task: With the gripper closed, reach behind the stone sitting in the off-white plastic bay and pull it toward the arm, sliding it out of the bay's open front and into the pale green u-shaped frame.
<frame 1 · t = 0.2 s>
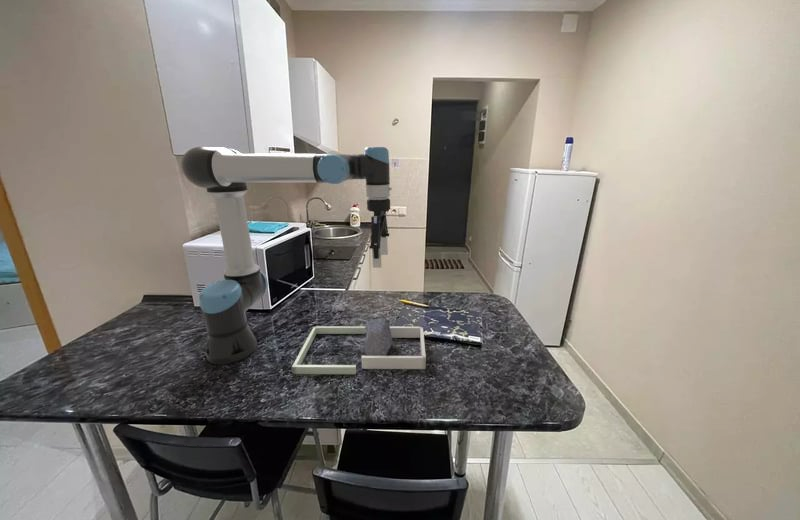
hand: (380, 260, 105), 28 cm above the table, fingers open, 13 cm apart
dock: (394, 351, 102), on the table
pale green u-shaped frame: (332, 350, 102), on the table
stone: (377, 351, 102), on the table
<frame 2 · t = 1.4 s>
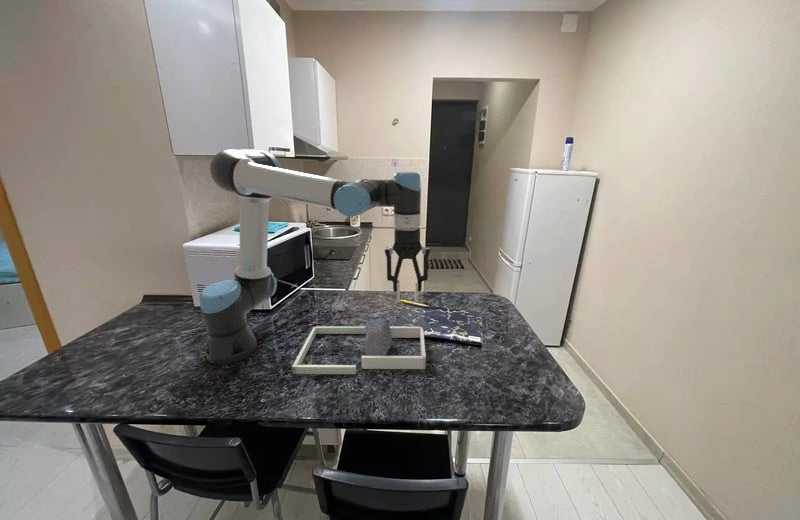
hand: (407, 300, 95), 19 cm above the table, fingers open, 5 cm apart
nothing on the table moved.
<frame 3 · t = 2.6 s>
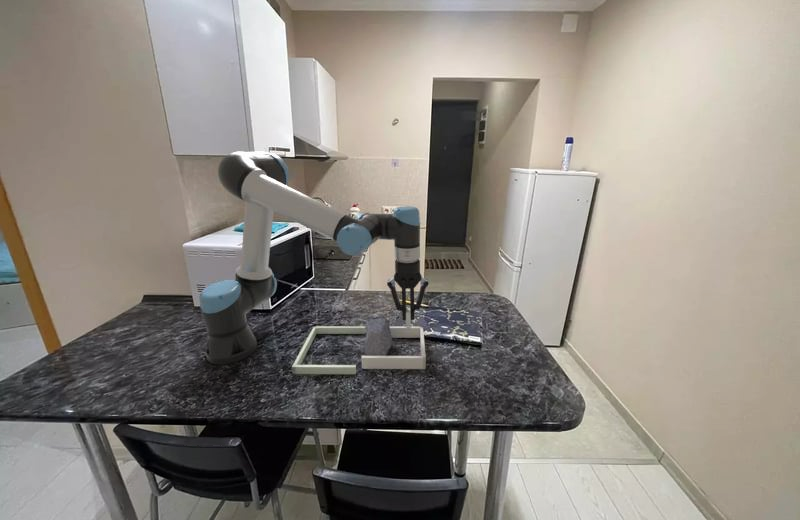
hand: (408, 328, 99), 9 cm above the table, fingers closed
nothing on the table moved.
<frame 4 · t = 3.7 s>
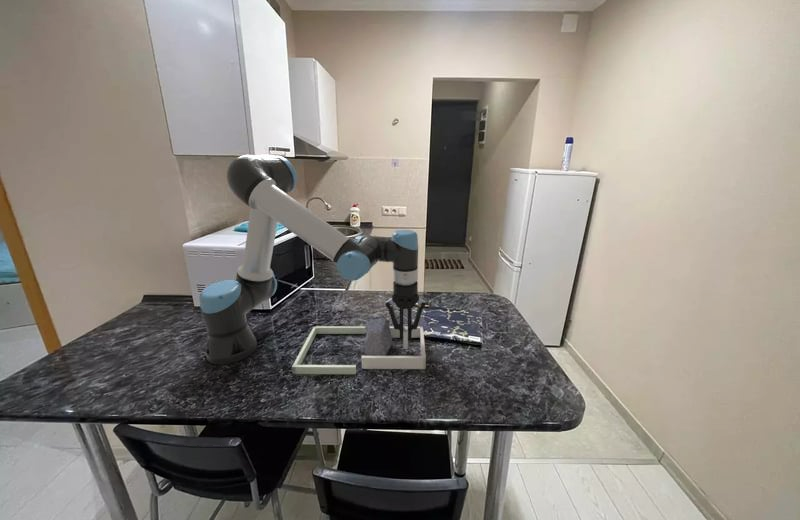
hand: (405, 346, 101), 2 cm above the table, fingers closed
nothing on the table moved.
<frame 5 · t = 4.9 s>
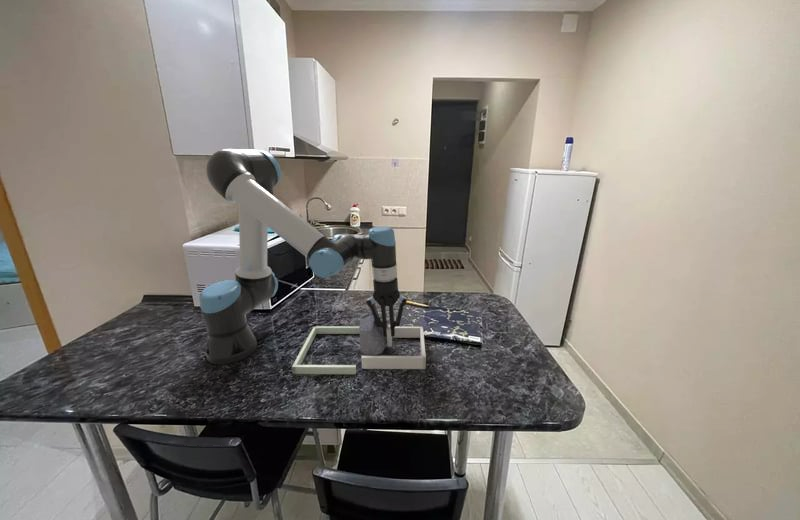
hand: (389, 344, 100), 3 cm above the table, fingers closed
stone: (375, 348, 101), point 1 cm above the table, touching gripper, hand
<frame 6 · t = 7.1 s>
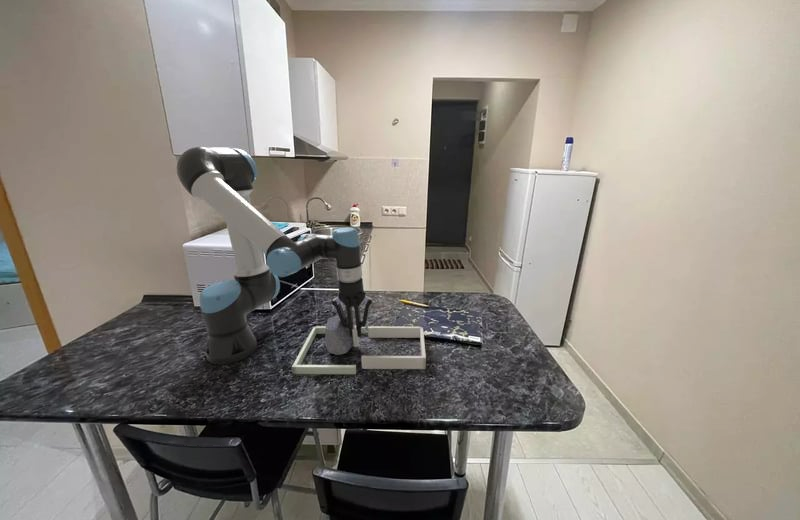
hand: (356, 344, 101), 3 cm above the table, fingers closed
stone: (342, 348, 102), point 1 cm above the table, touching gripper, hand
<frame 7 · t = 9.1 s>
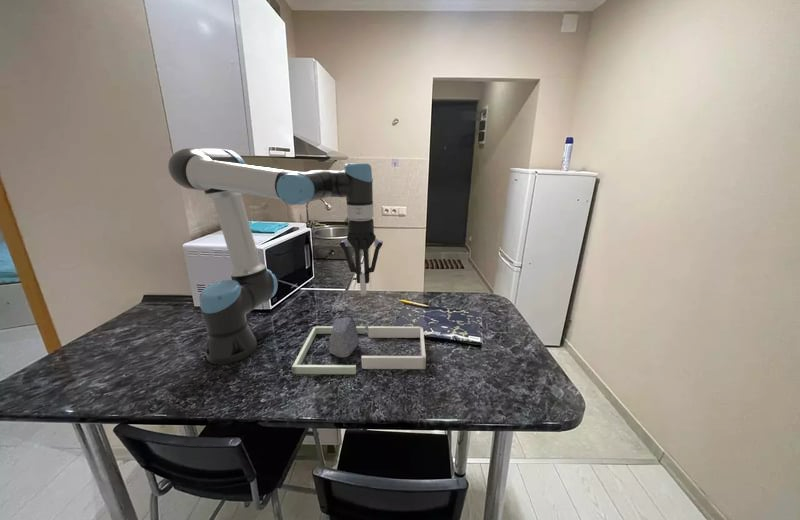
hand: (363, 292, 96), 21 cm above the table, fingers closed
stone: (343, 350, 102), on the table
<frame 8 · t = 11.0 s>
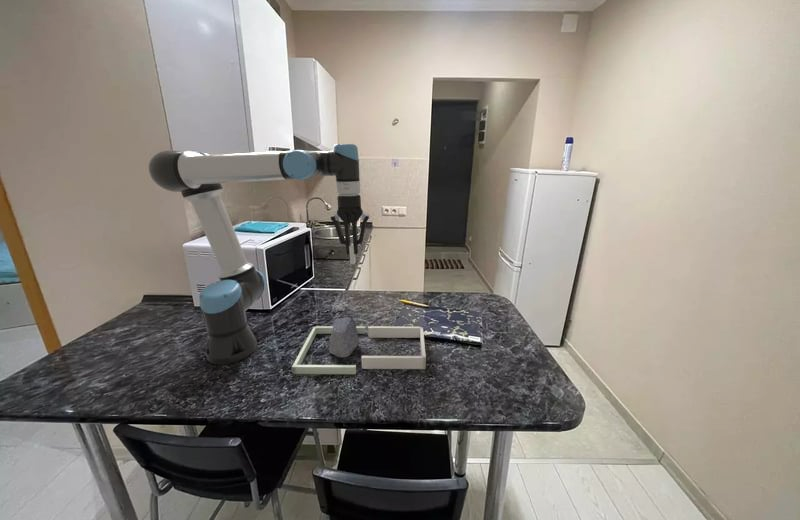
hand: (353, 262, 107), 26 cm above the table, fingers closed
nothing on the table moved.
at the end: stone inside the target area on the pale green u-shaped frame (2.8 cm from its centre), point 0.0 cm above the pale green u-shaped frame's base; the gripper is holding nothing; stone touching table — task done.
